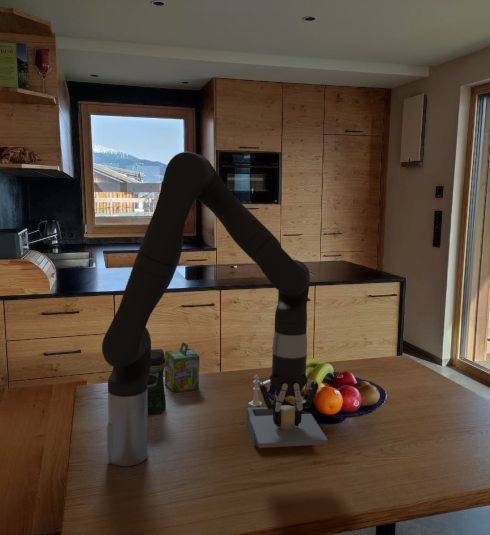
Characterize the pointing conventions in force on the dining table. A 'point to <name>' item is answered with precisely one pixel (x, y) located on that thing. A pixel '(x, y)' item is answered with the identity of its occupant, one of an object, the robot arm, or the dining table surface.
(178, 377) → the chalk box
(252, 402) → the chess piece
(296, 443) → the lid
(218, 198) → the robot arm
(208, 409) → the dining table surface
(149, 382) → the coffee jar
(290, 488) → the dining table surface
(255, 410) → the box
